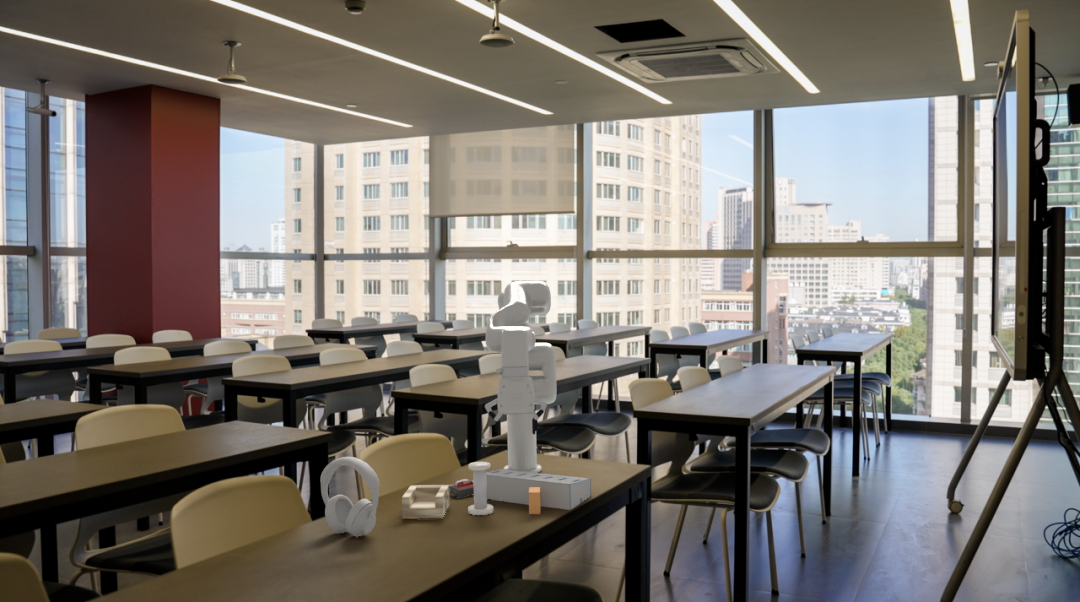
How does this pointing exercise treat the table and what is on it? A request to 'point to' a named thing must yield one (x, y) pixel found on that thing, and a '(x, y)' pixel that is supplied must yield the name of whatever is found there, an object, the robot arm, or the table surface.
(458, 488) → the toolbox
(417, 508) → the beige armchair
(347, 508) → the headphones
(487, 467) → the bobbin
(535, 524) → the table surface
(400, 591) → the table surface
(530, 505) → the orange rectangular block
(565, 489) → the warehouse
